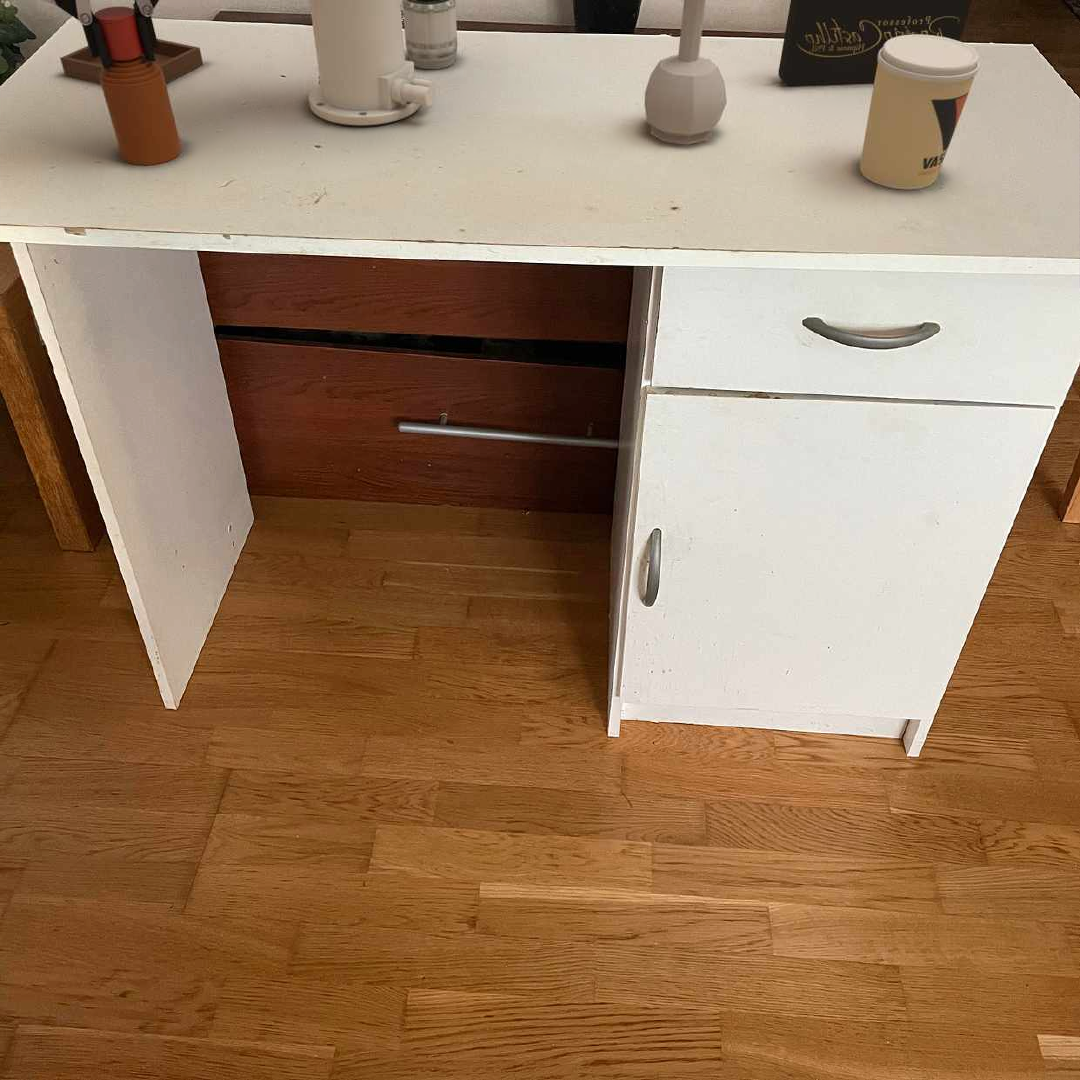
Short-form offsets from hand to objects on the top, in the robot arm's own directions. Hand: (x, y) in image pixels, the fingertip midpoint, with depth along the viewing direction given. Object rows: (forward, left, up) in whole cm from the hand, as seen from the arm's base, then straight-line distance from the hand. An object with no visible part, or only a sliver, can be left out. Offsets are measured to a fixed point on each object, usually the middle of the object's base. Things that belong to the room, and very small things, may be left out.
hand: (126, 58), depth 99 cm
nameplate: (-62, -54, -10) cm, 83 cm away
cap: (0, 0, +1) cm, 1 cm away
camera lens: (-13, -36, -10) cm, 39 cm away
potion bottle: (-47, -30, -10) cm, 57 cm away
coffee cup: (-71, -31, -10) cm, 78 cm away
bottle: (0, 0, -9) cm, 9 cm away
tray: (+17, -17, -9) cm, 26 cm away
